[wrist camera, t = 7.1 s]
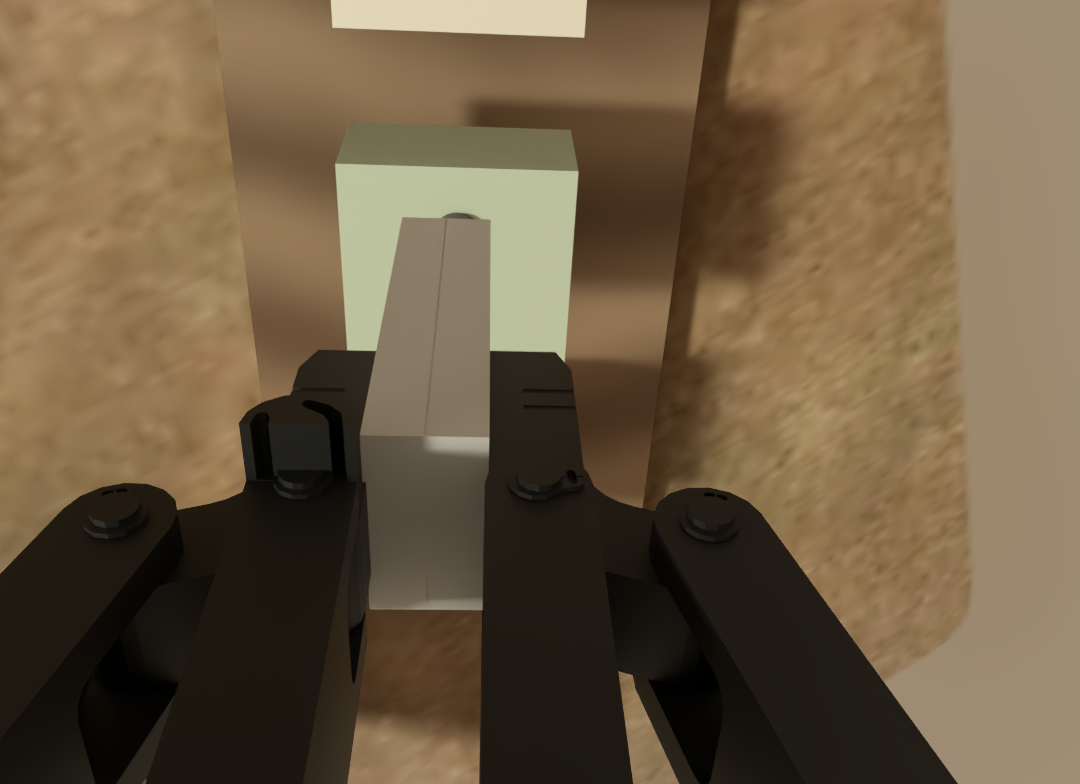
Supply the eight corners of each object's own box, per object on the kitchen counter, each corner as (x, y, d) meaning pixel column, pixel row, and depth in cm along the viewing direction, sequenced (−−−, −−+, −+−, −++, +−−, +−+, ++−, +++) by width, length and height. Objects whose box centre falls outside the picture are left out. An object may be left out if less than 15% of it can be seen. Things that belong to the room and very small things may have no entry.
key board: (176, -387, 25) (150, -394, 23) (749, -351, 26) (769, -356, 24) (281, 508, 40) (271, 546, 38) (636, 512, 41) (643, 550, 39)
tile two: (349, 122, 28) (334, 166, 25) (571, 129, 28) (578, 174, 25) (360, 316, 31) (347, 373, 28) (558, 320, 31) (564, 378, 29)
